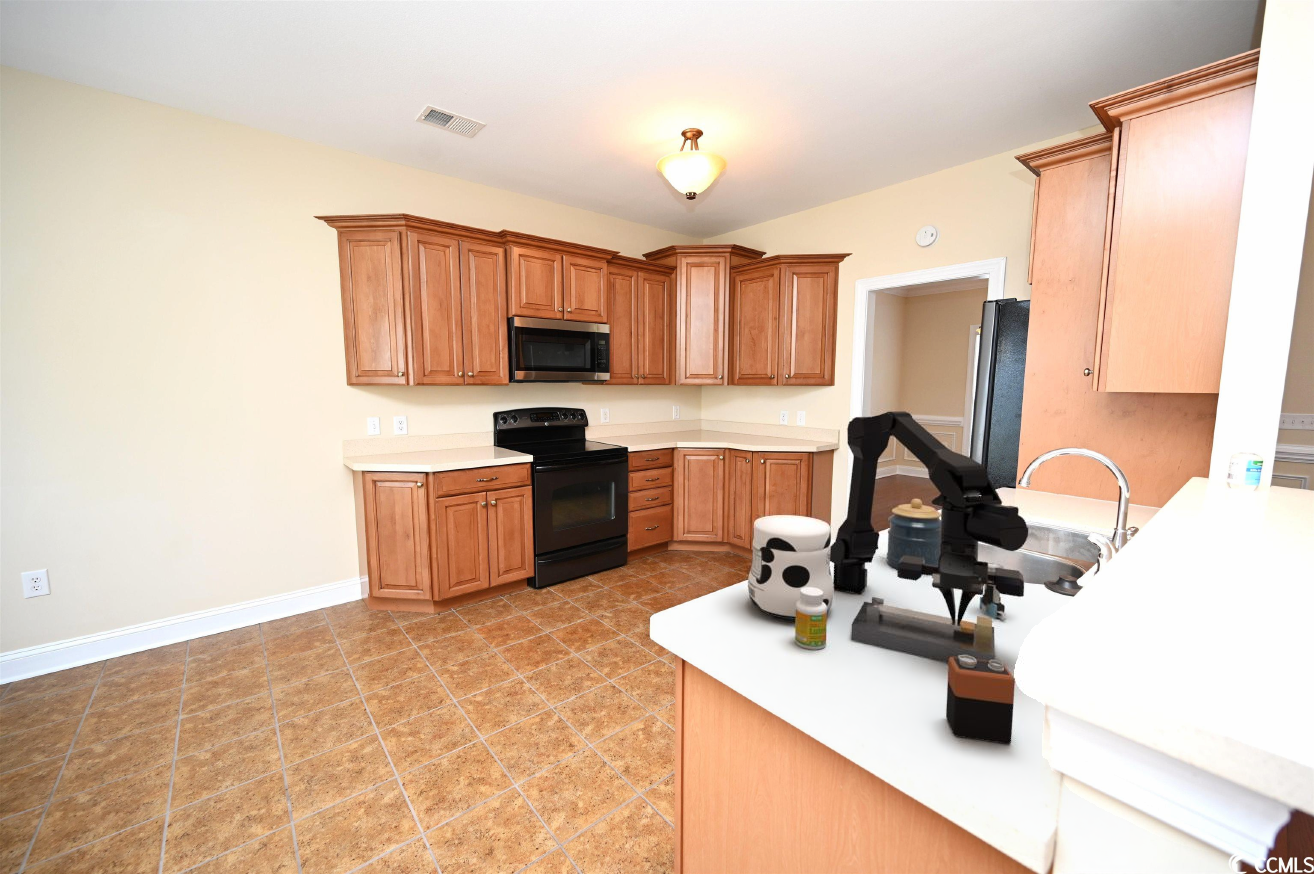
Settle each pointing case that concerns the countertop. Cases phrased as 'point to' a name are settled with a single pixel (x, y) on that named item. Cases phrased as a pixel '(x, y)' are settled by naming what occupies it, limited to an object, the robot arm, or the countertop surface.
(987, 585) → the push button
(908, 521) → the canister
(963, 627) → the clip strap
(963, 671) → the battery
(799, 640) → the supplement bottle
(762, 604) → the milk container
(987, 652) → the grey lever base
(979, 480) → the robot arm
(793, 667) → the countertop surface
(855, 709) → the countertop surface
